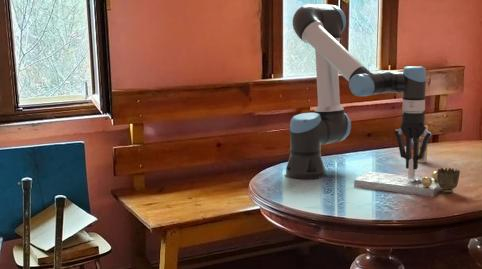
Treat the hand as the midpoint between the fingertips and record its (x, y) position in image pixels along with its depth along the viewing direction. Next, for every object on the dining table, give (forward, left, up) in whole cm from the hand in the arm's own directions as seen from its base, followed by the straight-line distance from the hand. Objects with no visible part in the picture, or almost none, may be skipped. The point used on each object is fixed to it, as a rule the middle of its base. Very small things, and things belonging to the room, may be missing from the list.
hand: (411, 177), depth 220 cm
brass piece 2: (+7, +5, 0) cm, 9 cm away
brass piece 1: (+6, -5, 0) cm, 8 cm away
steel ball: (+2, 0, -2) cm, 3 cm away
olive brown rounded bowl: (+13, 0, -4) cm, 13 cm away
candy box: (-10, +43, -4) cm, 44 cm away
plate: (-5, 0, -4) cm, 6 cm away
